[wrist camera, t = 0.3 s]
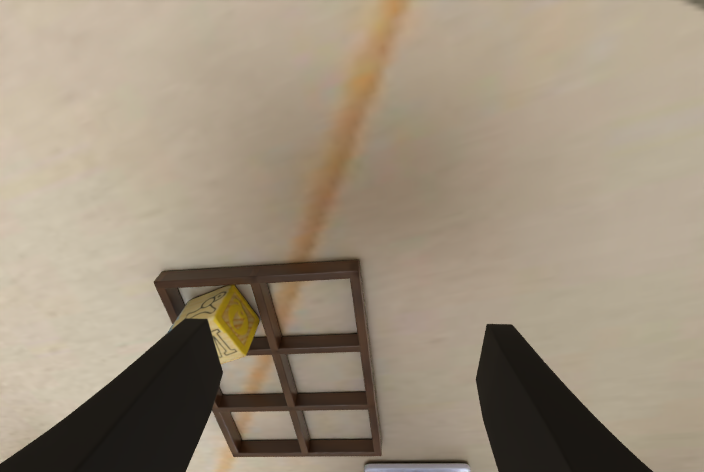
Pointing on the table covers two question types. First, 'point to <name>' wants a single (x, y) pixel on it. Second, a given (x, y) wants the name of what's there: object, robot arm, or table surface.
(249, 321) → the alphabet block
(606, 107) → the table surface
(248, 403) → the frame
